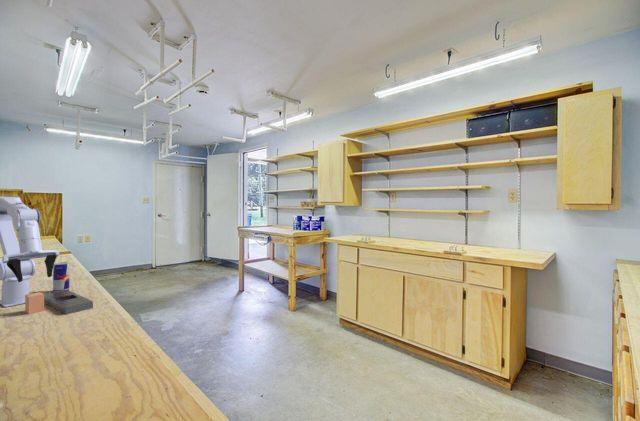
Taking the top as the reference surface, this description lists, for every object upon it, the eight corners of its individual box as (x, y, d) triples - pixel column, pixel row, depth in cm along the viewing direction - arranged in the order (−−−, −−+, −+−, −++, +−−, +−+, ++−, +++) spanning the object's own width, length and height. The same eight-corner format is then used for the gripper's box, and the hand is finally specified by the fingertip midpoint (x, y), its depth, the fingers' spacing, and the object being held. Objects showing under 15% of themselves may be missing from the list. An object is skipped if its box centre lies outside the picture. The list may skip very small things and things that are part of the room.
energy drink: (59, 293, 127) (59, 264, 127) (49, 292, 129) (49, 264, 128) (72, 290, 133) (72, 262, 132) (62, 289, 134) (62, 261, 134)
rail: (41, 301, 118) (41, 294, 118) (67, 296, 124) (67, 289, 124) (65, 314, 105) (65, 307, 105) (93, 308, 111) (93, 301, 111)
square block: (25, 311, 106) (25, 294, 106) (40, 308, 110) (40, 292, 110) (28, 314, 104) (28, 297, 104) (44, 311, 108) (44, 294, 107)
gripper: (3, 240, 100) (9, 280, 97) (59, 235, 112) (65, 271, 110) (-2, 246, 103) (3, 285, 101) (53, 241, 116) (59, 276, 113)
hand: (35, 278), depth 106 cm, fingers open, 7 cm apart
